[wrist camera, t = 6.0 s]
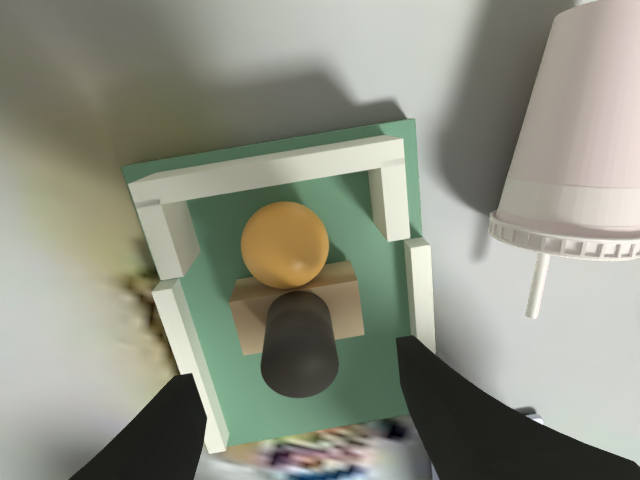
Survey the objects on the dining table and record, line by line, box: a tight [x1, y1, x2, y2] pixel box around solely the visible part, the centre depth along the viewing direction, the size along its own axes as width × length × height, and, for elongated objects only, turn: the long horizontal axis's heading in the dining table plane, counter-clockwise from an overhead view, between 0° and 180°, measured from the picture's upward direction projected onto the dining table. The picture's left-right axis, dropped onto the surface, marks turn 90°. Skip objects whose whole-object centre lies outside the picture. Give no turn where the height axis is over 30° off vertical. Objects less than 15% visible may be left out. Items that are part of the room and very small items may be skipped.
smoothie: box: [488, 0, 640, 318], centre depth 16 cm, size 6×6×14 cm
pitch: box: [121, 119, 436, 454], centre depth 19 cm, size 18×14×4 cm
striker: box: [229, 260, 365, 398], centre depth 16 cm, size 3×6×6 cm, turn 99°
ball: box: [241, 201, 329, 289], centre depth 16 cm, size 4×4×4 cm
